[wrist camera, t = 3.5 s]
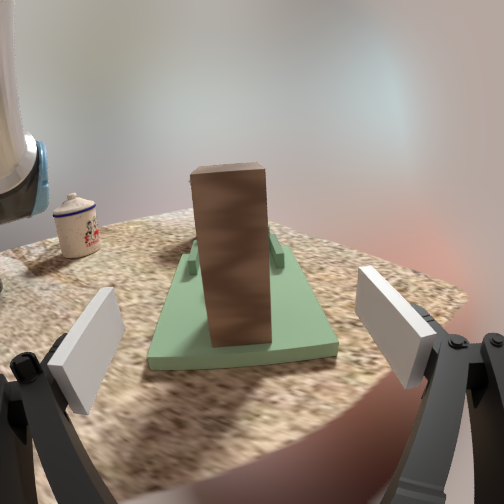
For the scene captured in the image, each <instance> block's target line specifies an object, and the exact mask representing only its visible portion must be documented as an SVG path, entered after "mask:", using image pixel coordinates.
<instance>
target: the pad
mask: <svg viewBox="0 0 504 504" xmlns="http://www.w3.org/2000/svg"><path fill="white" fill-rule="evenodd" d="M268 240H269V265H270V293H271V324H272V343H267V344H256V345H244V346H230V347H215V348H212V344H211V338H210V332H209V325H208V319H207V312H206V305H205V298H204V291H203V284H202V276H201V269H200V261H199V253H198V245H197V240H194V242H193V245H192V248H191V251H190V253H189V254H182V257H181V259H180V262H179V265H178V268H177V270H176V273H175V276H174V278H173V281H172V284H171V287H170V290H169V292H168V295H167V298H166V301H165V304H164V307H163V309H162V312H161V315H160V318H159V321H158V324H157V327H156V330H155V333H154V336H153V339H152V342H151V345H150V349H149V352H148V355H147V359H148V363H149V366H150V369H151V370H195V369H216V368H232V367H246V366H257V365H268V364H278V363H287V362H295V361H303V360H310V359H318V358H324V357H331V356H337V353H338V345H339V341H338V339H337V337H336V335H335V333H334V331H333V329H332V327H331V325H330V323H329V321H328V320H327V318H326V316H325V314H324V312H323V310H322V308H321V306H320V304H319V302H318V300H317V298H316V296H315V294H314V292H313V290H312V288H311V287H310V285H309V283H308V281H307V279H306V277H305V275H304V273H303V271H302V269H301V267H300V266H299V264H298V262H297V260H296V258H295V256H294V254H293V252H292V251H291V249H290V247H289V246H281V245H280V243H279V241H278V239H277V236H276V234H270V231H269V225H268Z"/></svg>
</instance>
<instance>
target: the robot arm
mask: <svg viewBox="0 0 504 504" xmlns="http://www.w3.org/2000/svg"><path fill="white" fill-rule="evenodd" d="M14 10H15V0H0V225H3V224H6V223H10V222H13V221H16V220H20V219H23V218H31V217H32V216H33V215H36V214H39V213H42V212H44V211H45V210H46V209H47V207H48V204H49V187H48V186H49V185H48V166H47V153H46V146H45V144H44V143H43V142H38V141H36V142H35V141H34V138H33V137H32V135H31V134H30V133H29V132H27V131H26V130H24V129H23V125H22V119H21V114H20V106H19V98H18V90H17V79H16V67H15V49H14V12H15V11H14ZM2 288H3V284H2V281H1V278H0V292H1V290H2ZM355 313H356V314H357V316H358V317H359V319H360V320H361V322H362V323H363V325H364V326H365V328H366V329H367V331H368V332H369V334H370V335H371V337H372V338H373V340H374V341H375V343H376V344H377V346H378V348H379V349H380V351H381V352H382V354H383V355H384V357H385V358H386V360H387V362H388V363H389V365H390V366H391V368H392V369H393V371H394V373H395V374H396V376H397V377H398V379H399V381H400V382H401V384H402V385H403V387H404V389H410V388H413V387H416V386H420V384H421V381H422V379H423V376H425V377H426V378H427V380H428V382H427V385H426V388H425V390H424V393H423V395H422V398H421V399H422V401H421V405H420V408H419V411H418V414H417V417H416V420H415V423H414V426H413V428H412V431H411V434H410V437H409V439H408V442H407V444H406V447H405V450H404V452H403V454H402V457H401V460H400V462H399V464H398V466H397V469H396V471H395V473H394V475H393V478H392V480H391V482H390V484H389V486H388V488H387V491H386V493H385V494H384V497H383V498H382V500H381V502H380V504H445V500H446V494H445V493H444V492H443V491H444V487H445V483H446V480H447V477H448V473H449V470H450V467H451V462H452V459H453V455H454V451H455V447H456V442H457V438H458V433H459V429H460V423H461V418H462V412H463V406H464V400H465V393H466V395H467V401H468V408H469V416H470V424H471V433H472V443H473V459H474V486H475V487H474V489H475V490H474V493H475V494H474V496H475V497H474V504H504V336H502V335H500V334H498V333H488V334H486V335H485V337H484V338H483V342H482V343H478V344H477V343H476V344H470V343H469V342H468V341H467V339H466V338H464V337H463V336H460V335H456V334H448V333H447V332H446V331H445V330H444V329H443V328H442V326H441V325H440V324H439V323H438V322H437V321H436V320H434V318H433V317H432V316H430V314H429V313H428V312H427V311H426V310H425V309H424V308H422V307H420V306H418V305H416V304H414V305H410V304H409V303H408V302H407V301H406V300H405V299H404V298H403V297H402V296H401V295H400V294H399V293H398V292H397V291H396V290H395V289H394V288H393V287H392V286H391V285H390V284H389V283H388V282H387V281H386V280H385V279H384V278H383V277H382V276H381V275H380V274H379V273H378V272H377V271H376V270H375V269H374V268H373V267H372V266H365V267H359V270H358V282H357V293H356V302H355ZM124 332H125V327H124V323H123V320H122V316H121V313H120V309H119V306H118V302H117V298H116V295H115V291H114V287H103V288H101V289H100V290H99V291H98V293H97V294H96V295H95V297H94V298H93V299H92V301H91V302H90V303H89V305H88V306H87V307H86V309H85V310H84V311H83V313H82V314H81V316H80V317H79V318H78V320H77V321H76V323H75V324H74V325H73V327H72V328H71V330H70V331H69V333H64V334H63V335H62V336H60V337H59V338H58V339H57V340H56V341H55V343H54V344H53V347H51V349H50V350H49V352H48V353H47V354H46V356H45V357H44V359H43V360H42V362H41V363H40V364H39V362H38V359H37V357H36V356H35V354H34V353H32V352H24V353H21V354H19V355H17V356H16V357H15V358H13V359H12V361H11V363H10V368H11V370H12V372H13V374H14V376H15V377H16V379H17V381H13V382H8V381H7V380H6V378H5V376H4V375H3V374H0V504H38V500H37V493H36V485H35V475H34V463H33V445H32V438H33V441H34V444H35V447H36V450H37V453H38V456H39V458H40V461H41V464H42V467H43V469H44V472H45V474H46V477H47V479H48V482H49V484H50V487H51V489H52V491H53V494H54V496H55V498H56V500H57V502H58V504H118V503H117V502H116V500H115V499H114V497H113V496H112V494H111V493H110V491H109V490H108V488H107V486H106V485H105V483H104V482H103V480H102V478H101V477H100V475H99V473H98V472H97V470H96V468H95V467H94V465H93V463H92V461H91V459H90V458H89V456H88V454H87V452H86V450H85V448H84V446H83V445H82V443H81V441H80V439H79V437H78V435H77V433H76V431H75V429H74V426H73V424H72V422H71V420H70V418H69V416H68V414H67V412H66V411H65V410H66V407H67V405H68V404H69V406H70V408H71V410H72V411H73V413H76V414H84V415H89V412H90V410H91V407H92V405H93V402H94V400H95V397H96V395H97V393H98V390H99V388H100V386H101V383H102V381H103V378H104V376H105V374H106V372H107V369H108V367H109V365H110V362H111V360H112V358H113V356H114V354H115V351H116V349H117V347H118V345H119V343H120V340H121V338H122V336H123V334H124Z"/></svg>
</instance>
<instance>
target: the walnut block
mask: <svg viewBox="0 0 504 504" xmlns="http://www.w3.org/2000/svg"><path fill="white" fill-rule="evenodd" d="M190 179H191V189H192V200H193V209H194V219H195V228H196V236H197V245H198V253H199V261H200V269H201V276H202V284H203V291H204V298H205V305H206V312H207V319H208V325H209V332H210V338H211V344H212V348H215V347H230V346H244V345H256V344H267V343H272V324H271V293H270V265H269V240H268V217H267V197H266V196H267V195H266V175H265V168H264V167H262V166H261V165H260V164H259V163H258V162H253V163H238V164H224V165H213V166H201V167H198V168H197V169H196V170H195V171H193V172H192V173H191V175H190Z"/></svg>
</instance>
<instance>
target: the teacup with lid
mask: <svg viewBox="0 0 504 504" xmlns="http://www.w3.org/2000/svg"><path fill="white" fill-rule="evenodd" d="M67 199H68V200H66V201H64V202H63V203H62V204H61V206H60V207H58V208H57V209H55V210H54V211H53V217H54V218H55V223H56V228H57V233H58V238H59V242H60V246H61V251H62V255H63V256H64V257H66V258H79V257H83V256H87V255H89V254H92V253H94V252H96V251H97V250H99V249H100V248H101V245H102V244H101V239H100V234H99V229H98V224H97V218H96V212H95V206H96V205H95V203H94V202H93V201H88V200H85V199H83V198H76V193H72V194H68V195H67Z"/></svg>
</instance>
